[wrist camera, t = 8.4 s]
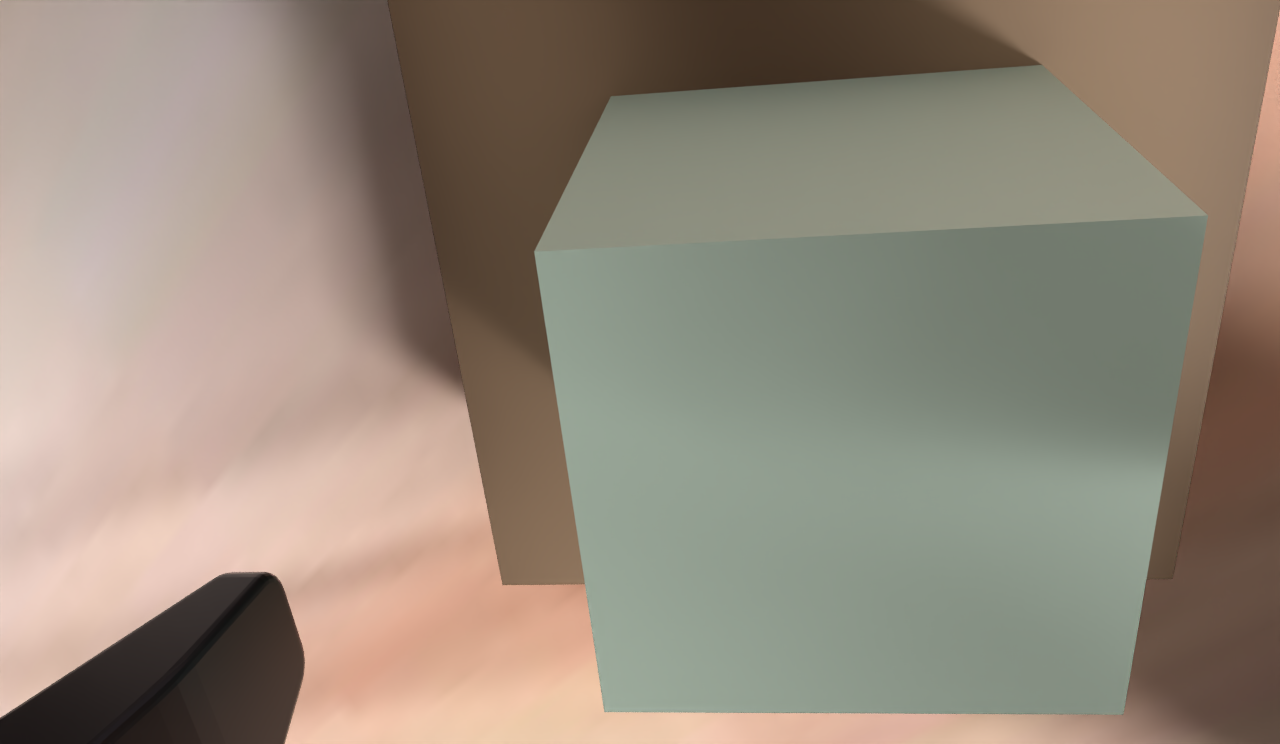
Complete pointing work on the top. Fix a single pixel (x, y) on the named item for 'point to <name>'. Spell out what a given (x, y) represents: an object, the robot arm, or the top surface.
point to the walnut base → (765, 55)
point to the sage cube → (867, 393)
